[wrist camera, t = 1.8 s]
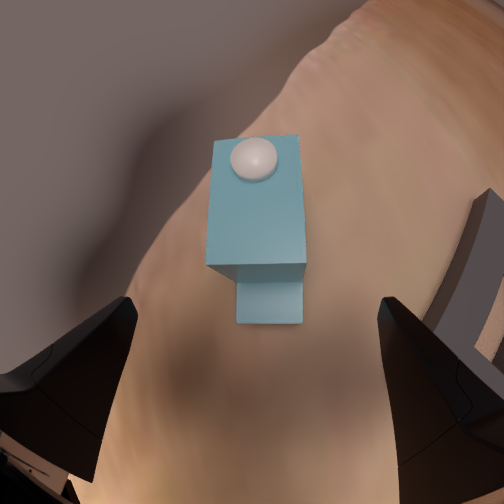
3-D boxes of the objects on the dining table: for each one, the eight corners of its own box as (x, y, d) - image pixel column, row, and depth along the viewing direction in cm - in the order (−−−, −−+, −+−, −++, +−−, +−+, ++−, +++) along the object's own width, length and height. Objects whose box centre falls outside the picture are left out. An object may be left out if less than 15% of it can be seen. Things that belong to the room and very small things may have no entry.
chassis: (476, 435, 14) (492, 444, 11) (386, 375, 17) (400, 383, 14) (545, 279, 15) (561, 274, 12) (474, 200, 19) (489, 187, 16)
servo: (301, 321, 19) (307, 329, 9) (247, 321, 20) (198, 327, 10) (297, 183, 22) (293, 90, 12) (249, 185, 23) (215, 97, 12)
